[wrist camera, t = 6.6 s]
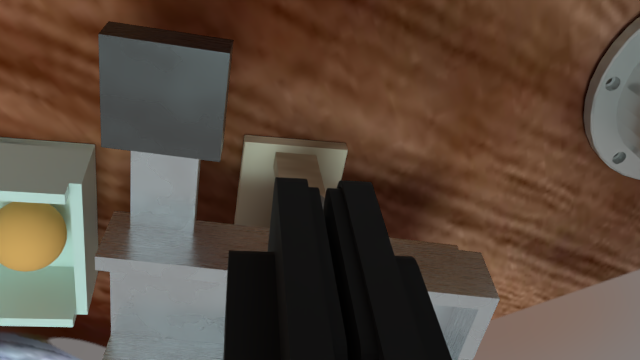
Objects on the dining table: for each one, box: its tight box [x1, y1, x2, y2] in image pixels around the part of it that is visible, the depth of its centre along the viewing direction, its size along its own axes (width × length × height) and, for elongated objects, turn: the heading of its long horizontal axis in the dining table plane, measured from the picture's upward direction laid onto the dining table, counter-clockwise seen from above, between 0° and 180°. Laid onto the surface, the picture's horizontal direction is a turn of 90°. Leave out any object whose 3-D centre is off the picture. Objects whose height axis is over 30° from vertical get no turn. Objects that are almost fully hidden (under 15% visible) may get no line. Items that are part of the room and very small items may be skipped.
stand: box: [234, 135, 348, 228], centre depth 35 cm, size 6×13×9 cm, turn 171°
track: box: [95, 22, 500, 360], centre depth 30 cm, size 19×18×6 cm
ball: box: [0, 202, 67, 272], centre depth 34 cm, size 4×4×4 cm
